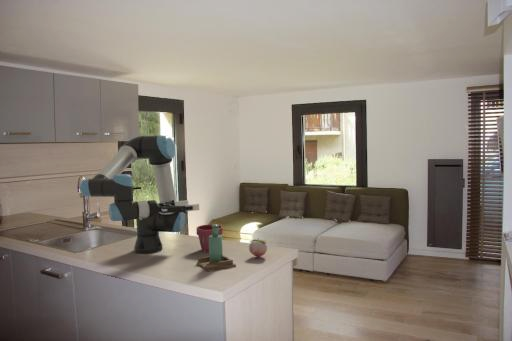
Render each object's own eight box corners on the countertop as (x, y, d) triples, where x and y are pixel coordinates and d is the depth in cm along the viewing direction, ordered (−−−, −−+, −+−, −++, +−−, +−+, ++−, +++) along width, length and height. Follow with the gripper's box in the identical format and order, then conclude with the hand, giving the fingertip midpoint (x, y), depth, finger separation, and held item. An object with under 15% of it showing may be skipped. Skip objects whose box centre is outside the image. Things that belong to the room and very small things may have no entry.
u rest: (196, 263, 195) (196, 257, 195) (223, 259, 202) (223, 253, 202) (208, 271, 183) (208, 265, 183) (235, 266, 190) (235, 260, 190)
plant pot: (210, 254, 212) (209, 230, 211) (191, 250, 220) (191, 227, 219) (228, 249, 223) (227, 226, 222) (209, 245, 231) (209, 223, 231)
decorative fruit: (269, 255, 208) (269, 236, 208) (265, 260, 200) (265, 240, 200) (251, 254, 211) (251, 235, 210) (247, 258, 203) (247, 239, 202)
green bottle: (207, 262, 194) (206, 224, 193) (219, 260, 197) (218, 223, 196) (212, 265, 188) (211, 226, 187) (225, 263, 192) (224, 225, 190)
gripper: (140, 213, 186) (184, 209, 197) (155, 222, 164) (204, 217, 175) (139, 197, 186) (183, 194, 196) (155, 204, 164) (203, 199, 175)
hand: (193, 205), depth 186 cm, fingers open, 13 cm apart
